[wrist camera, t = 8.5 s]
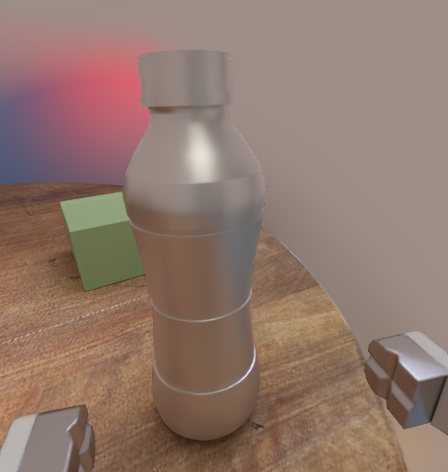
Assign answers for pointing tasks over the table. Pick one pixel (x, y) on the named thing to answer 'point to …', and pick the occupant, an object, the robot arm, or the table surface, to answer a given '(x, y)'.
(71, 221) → the green block
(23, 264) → the table surface
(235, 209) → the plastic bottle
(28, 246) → the table surface
